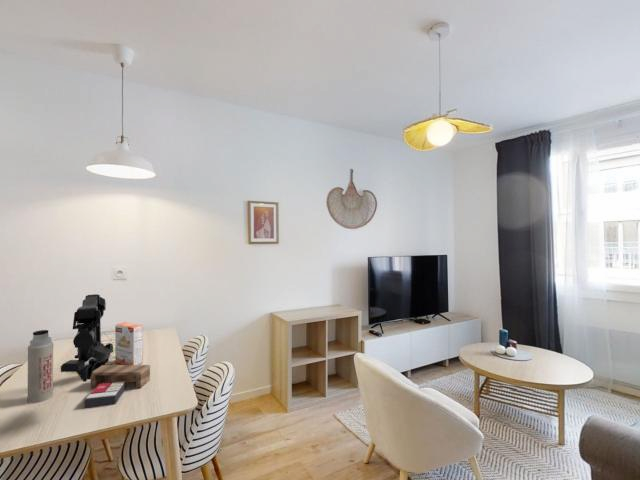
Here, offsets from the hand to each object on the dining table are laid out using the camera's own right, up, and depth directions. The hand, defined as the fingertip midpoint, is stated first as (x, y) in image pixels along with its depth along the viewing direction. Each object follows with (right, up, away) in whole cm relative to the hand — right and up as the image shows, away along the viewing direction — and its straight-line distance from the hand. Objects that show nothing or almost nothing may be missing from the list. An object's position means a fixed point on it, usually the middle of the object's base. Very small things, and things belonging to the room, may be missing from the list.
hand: (86, 380), depth 122 cm
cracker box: (-12, -12, +46) cm, 49 cm away
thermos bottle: (-26, -12, +10) cm, 31 cm away
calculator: (0, -13, +11) cm, 17 cm away
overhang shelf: (-1, -12, +23) cm, 26 cm away
